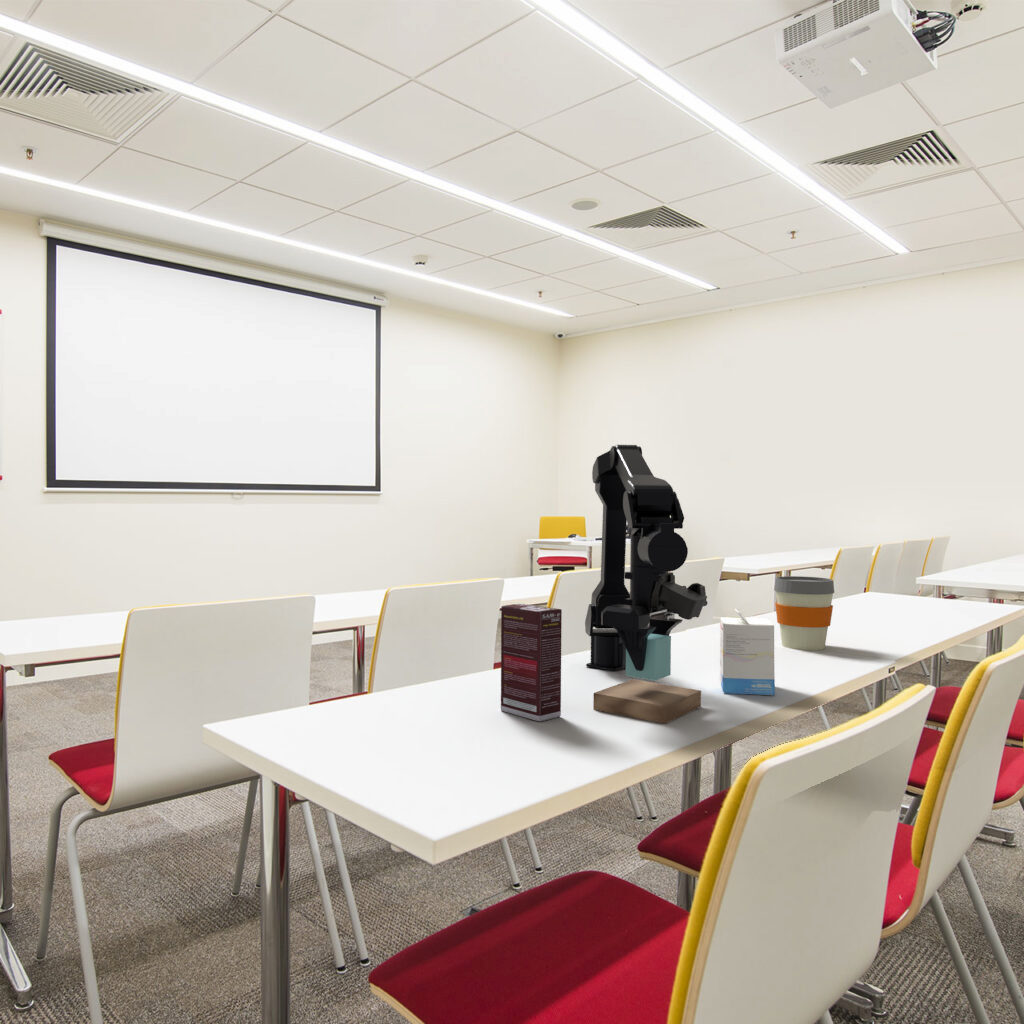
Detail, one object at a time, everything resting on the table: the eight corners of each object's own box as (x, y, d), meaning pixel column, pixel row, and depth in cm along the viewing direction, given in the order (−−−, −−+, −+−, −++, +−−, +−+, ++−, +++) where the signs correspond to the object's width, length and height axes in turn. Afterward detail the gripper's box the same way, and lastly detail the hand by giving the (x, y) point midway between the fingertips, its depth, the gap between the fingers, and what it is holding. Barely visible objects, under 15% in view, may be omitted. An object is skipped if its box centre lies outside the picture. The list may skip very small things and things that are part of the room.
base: (593, 709, 117) (593, 693, 117) (632, 694, 126) (632, 679, 126) (665, 723, 109) (665, 706, 109) (700, 706, 119) (701, 690, 119)
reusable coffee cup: (843, 651, 164) (844, 582, 164) (784, 651, 165) (785, 581, 164) (820, 641, 177) (821, 576, 177) (765, 640, 177) (766, 575, 177)
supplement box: (562, 716, 112) (563, 608, 112) (539, 723, 109) (540, 611, 109) (521, 705, 119) (522, 602, 119) (498, 710, 115) (499, 605, 115)
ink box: (775, 696, 126) (776, 614, 125) (722, 693, 127) (723, 612, 127) (768, 684, 134) (769, 607, 134) (718, 681, 136) (719, 606, 136)
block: (625, 675, 117) (626, 636, 117) (641, 670, 121) (641, 632, 121) (655, 680, 114) (655, 640, 114) (670, 674, 118) (670, 635, 118)
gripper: (669, 573, 105) (668, 687, 105) (723, 565, 120) (722, 665, 120) (599, 568, 112) (598, 675, 112) (659, 561, 127) (658, 655, 127)
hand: (647, 667), depth 118 cm, fingers closed on block, 5 cm apart
